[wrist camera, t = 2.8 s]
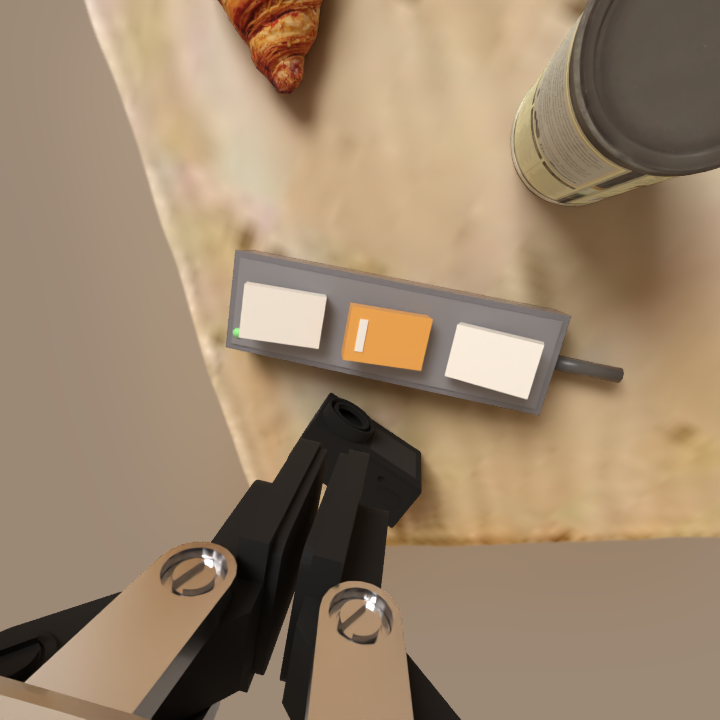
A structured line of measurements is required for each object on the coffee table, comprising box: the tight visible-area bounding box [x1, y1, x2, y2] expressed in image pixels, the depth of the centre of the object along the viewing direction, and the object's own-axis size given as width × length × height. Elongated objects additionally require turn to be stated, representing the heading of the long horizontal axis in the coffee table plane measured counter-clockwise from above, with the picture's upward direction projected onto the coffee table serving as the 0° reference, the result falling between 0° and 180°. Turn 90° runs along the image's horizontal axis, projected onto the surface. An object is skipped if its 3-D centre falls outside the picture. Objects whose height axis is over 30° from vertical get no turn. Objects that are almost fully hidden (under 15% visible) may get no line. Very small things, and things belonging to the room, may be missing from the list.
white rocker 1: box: [239, 282, 327, 349], centre depth 32 cm, size 6×4×2 cm, turn 79°
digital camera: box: [287, 393, 421, 528], centre depth 36 cm, size 10×5×7 cm, turn 57°
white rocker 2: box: [445, 322, 544, 399], centre depth 31 cm, size 6×4×2 cm, turn 81°
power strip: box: [226, 250, 624, 415], centre depth 35 cm, size 32×8×4 cm, turn 80°
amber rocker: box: [341, 303, 433, 371], centre depth 31 cm, size 6×4×2 cm, turn 79°
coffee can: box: [511, 0, 720, 206], centre depth 25 cm, size 10×10×14 cm
